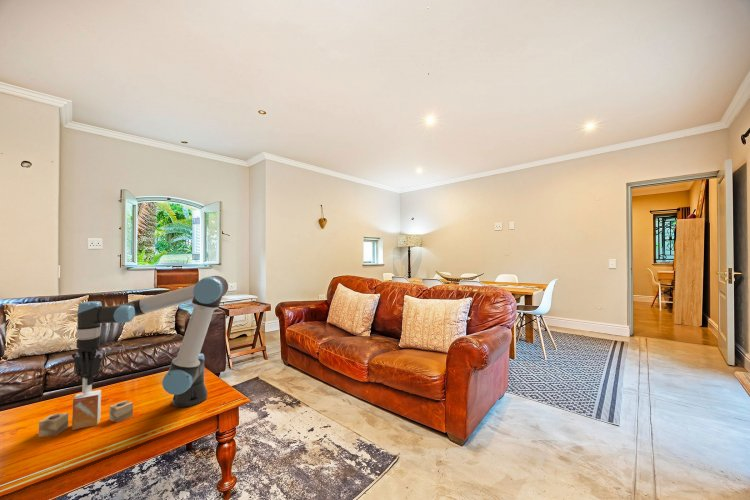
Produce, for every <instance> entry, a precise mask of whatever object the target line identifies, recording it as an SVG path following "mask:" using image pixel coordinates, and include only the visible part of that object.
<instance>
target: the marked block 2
mask: <svg viewBox="0 0 750 500" xmlns="http://www.w3.org/2000/svg"><path fill="white" fill-rule="evenodd" d="M133 408H134V403H133V402H132V401H128V400H122V401H120V402H116V403H115V404H112V405H110V406H109V409H108V410H109V412H108V413H109V415H108V416H109V418H108V419H109V421H112V422H114V423H119V422H122V421H124V420H127V419H129V418H131V417H133V411H134V410H133Z"/></svg>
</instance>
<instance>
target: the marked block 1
mask: <svg viewBox="0 0 750 500" xmlns="http://www.w3.org/2000/svg"><path fill="white" fill-rule="evenodd" d="M69 414H70V413H69V412H68V413H67V412H63V413H52V414H50V415H48V416H46V417H45V418H42V419H41V420H39V421H38V438H40V437H52V436H57V435H59V434H60V433H62V432H63V431H64V430H66V429H67V428H69Z"/></svg>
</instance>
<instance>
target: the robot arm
mask: <svg viewBox="0 0 750 500" xmlns="http://www.w3.org/2000/svg"><path fill="white" fill-rule="evenodd" d="M228 290H229V283H228V282H227V280H226V278H224V277H223V276H220V275H212V276H206V277H203V278H201V279H199V280H198V281H197V282H196V284H194V285H190V286H186V287H182V288H178V289H174V290H171V291H170V290H169V291H167V292H163V293H159V294H155V295H152V296H151V295H150V296H147V297H143V298H140V299H135V300H132V301H131V300H130V301H128V302H125V303H121V304H118V305H102V302H101V301H100V300H99V301H97V300H96V301H95V300H94V301H83V302H80V303H79V304H78V306H77V312H76V314H77V319H76V320H77V326H76V327H77V328H76V339H77V340H76V349H77V352H75V353H72V354H71V357H72V360H73V363H74V368H75V374H76V377H80V378H81V382H80V383H81V385H82V386H81V388H82V390H81V393H82V394H86V393H88V392H90V391H93V390H92V389H93V384H94V376H97V375H99V372H100V368H101V366H102V365H101V364H102V360H103V358H104V356H105V352H100V348H99V346H100V345H101V331H102V330H101V326H102V325H101V324H124V323H129V322H132V321H133V319H134V318H135V317H138V316H141V315H145V314H150V313H152V312H157V311H160V310H164V309H167V308H171V307H174V306H178V305H183V304H185V303H190V302H191V304H192V306H193V309H192V312H191V314H190V315H191V316H190V317H189V318H190V319H189V321H188V323H187V327H186V331H185V333H184V337H183V339H182V341H181V345H180V349H179V351H178V354H177V356H176V357H174V358H172V360H171V363H170V366H169V368H168V371H167V372H166V374H164V377H163V378H162V381H161V384H162V388H163V390H164V392H166V393H168V394H170V395H173V398H172V406H174V407H175V408H187V407H192V405H193V406H196V405H198V404H197V403H199V404H201V403H203V402H205V401H206V400H207V399H206V398H208V397H207V396H208V390H207V387H206V384H205V354H204V353H201V351H202V348H203V346H204V342H205V339H206V336H207V333H208V329H209V326H210V323H211V320H212V318H213V315H214V311H215V310H217V309H218V308H220V304H221V301H222V298H223V296H225V295H226V294H227V292H228ZM205 399H206V400H205ZM202 401H203V402H202ZM200 402H201V403H200ZM195 404H196V405H195Z"/></svg>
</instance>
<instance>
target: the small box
mask: <svg viewBox="0 0 750 500" xmlns="http://www.w3.org/2000/svg"><path fill="white" fill-rule="evenodd" d="M101 402H102V389H97V390H92V391H90V392H88V393H86V394H82V392H81V393H76V395H75V396H74V397H73V400H72V418H71V420H72V421H71V431H74V430H79V429H83V428H88V427H92V426H93V427H94V426H97V425H98V424H99V422H100V420H101V414H102V413H101V411H102V410H101V409H102V405H101V404H102V403H101Z"/></svg>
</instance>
